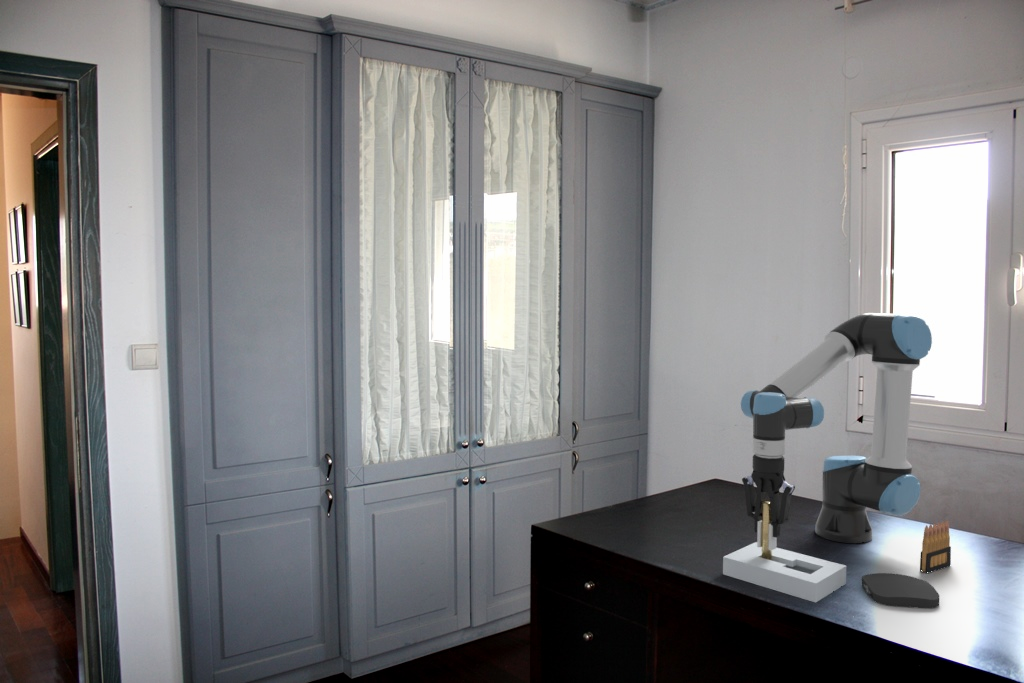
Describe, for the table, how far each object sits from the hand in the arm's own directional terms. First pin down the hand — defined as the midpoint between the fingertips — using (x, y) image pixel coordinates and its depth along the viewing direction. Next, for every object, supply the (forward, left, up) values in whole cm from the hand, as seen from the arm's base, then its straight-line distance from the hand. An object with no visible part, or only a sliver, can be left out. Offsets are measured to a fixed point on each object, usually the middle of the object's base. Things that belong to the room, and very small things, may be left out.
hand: (766, 547), depth 192 cm
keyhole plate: (-3, +3, -7) cm, 8 cm away
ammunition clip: (-44, -5, -7) cm, 45 cm away
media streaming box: (-27, +12, -7) cm, 31 cm away
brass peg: (0, 0, -7) cm, 7 cm away
